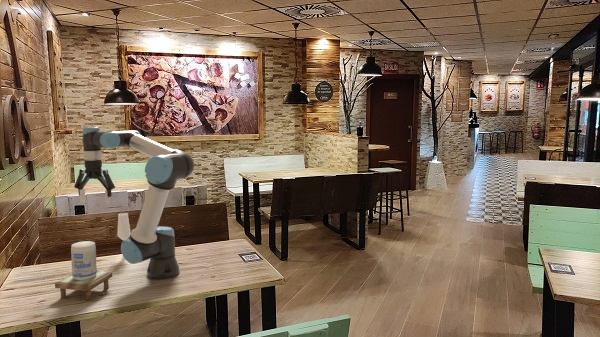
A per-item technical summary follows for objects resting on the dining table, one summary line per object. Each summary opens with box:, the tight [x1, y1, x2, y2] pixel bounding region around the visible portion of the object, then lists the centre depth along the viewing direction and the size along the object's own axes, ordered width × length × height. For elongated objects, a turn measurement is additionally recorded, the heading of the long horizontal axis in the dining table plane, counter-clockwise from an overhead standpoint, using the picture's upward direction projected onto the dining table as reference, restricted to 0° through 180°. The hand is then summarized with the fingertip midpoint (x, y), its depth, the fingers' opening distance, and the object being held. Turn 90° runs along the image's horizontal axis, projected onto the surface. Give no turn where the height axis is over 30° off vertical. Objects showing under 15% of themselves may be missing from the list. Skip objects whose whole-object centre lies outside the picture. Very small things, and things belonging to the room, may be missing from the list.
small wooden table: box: [54, 270, 113, 302], centre depth 190 cm, size 16×16×7 cm
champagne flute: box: [117, 212, 131, 260], centre depth 235 cm, size 7×7×24 cm
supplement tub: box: [70, 240, 98, 280], centre depth 188 cm, size 10×10×15 cm
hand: (95, 203), depth 211 cm, fingers open, 13 cm apart
